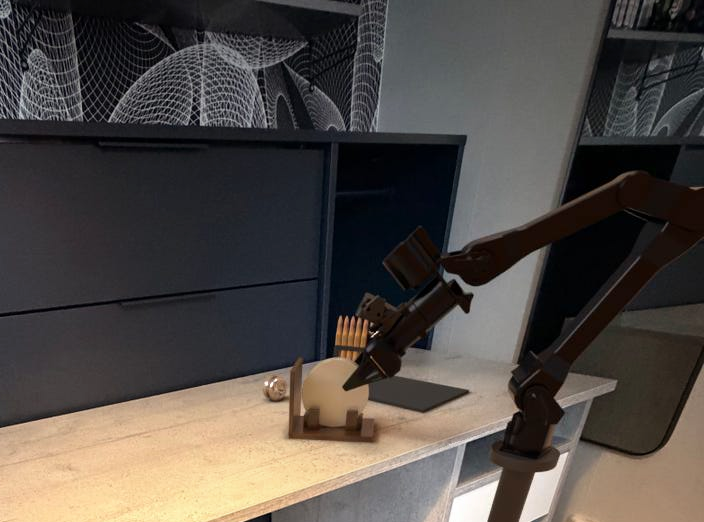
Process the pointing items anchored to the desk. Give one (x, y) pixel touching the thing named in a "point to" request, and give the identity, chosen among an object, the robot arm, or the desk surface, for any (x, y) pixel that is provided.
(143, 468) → the desk surface
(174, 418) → the desk surface
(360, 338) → the ammunition clip
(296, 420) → the stand
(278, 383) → the metal grooved wheel
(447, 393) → the mat
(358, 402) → the plate
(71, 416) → the desk surface
